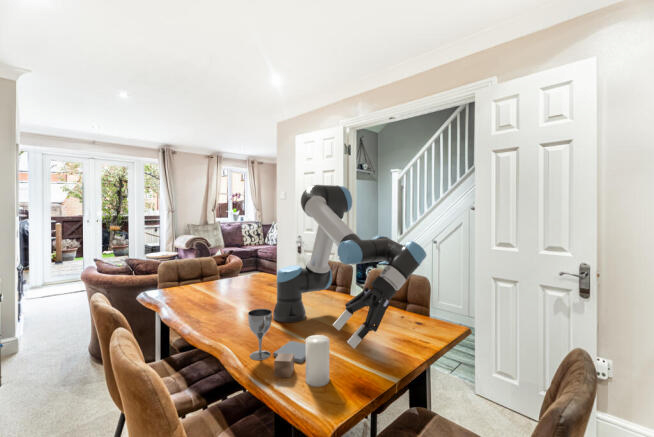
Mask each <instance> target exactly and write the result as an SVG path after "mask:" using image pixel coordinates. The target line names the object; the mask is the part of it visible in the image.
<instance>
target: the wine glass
mask: <svg viewBox="0 0 654 437" xmlns="http://www.w3.org/2000/svg"><path fill="white" fill-rule="evenodd" d="M247 314H248V315H247V319H248V325H249V329H250V331H251V332H252V333H253V334H254V335H255V336H256V338H257V340H258V350H256V351H253V352H252V353H250V354H249V358H250V360H254V361H264V360H267V359H268V358H270V357H271V354H272V353H271V352H270V351H269V350H265V349H264V350H263V349H262V345H263V344H262V343H263V338H264V336H266V334H267V332H269V330H270V328H271V325H272V321H273V320H272V319H273V318H272V317H273V316H272V315H273V312H272V310H271V309H269V308H255V309H252V310H250V311H248V313H247Z"/></svg>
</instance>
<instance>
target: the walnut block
mask: <svg viewBox="0 0 654 437" xmlns="http://www.w3.org/2000/svg"><path fill="white" fill-rule="evenodd" d="M273 362H274V363H273V364H274V367H273V375H274V376H273V377H274V378H285V377H288V378H289V379H290V378H291V377H292V375H293V373H294V371H295V361H294V354H287V353H278V355H277V357H275V359H274V361H273Z"/></svg>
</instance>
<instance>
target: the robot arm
mask: <svg viewBox="0 0 654 437" xmlns="http://www.w3.org/2000/svg"><path fill="white" fill-rule="evenodd" d="M300 205H301V209H302V211H303V212H304V213H305V214H306V216H308V217H310V218H312V219H313V220H314V221H315V222H316V223H317V224H318V226H317V230H316V235H315V238H314V244H313V247H312V252H311V255H310V259H309V260H307V262H306V263H305V267H302V266H301V265H287V266H284V267H281V268H280V269H278V271H277V274H276V303H275V306H274V310H273V312H272V315H273V316H272V317H273V318H272V319H274V320H275V321H276V322H281V323H294V322H295V323H296V322H300V321H303V320H304V319H305V318H306V315H307V314H306V308H305V306H304V302H303V298H302V297H303V294H306V293H312V292H321V291H323V290H327V289H329V287H330V286H331V285H332V282H333V271H332V269H331V266H330V264H329V261H330V257H331V253H332V248H333V245H334V244H335V245H336V246H337V257H339V258H338V259H339V261H340V263H342V264H344V265H358V264H360V265H361V264H366V263H375V262H376V263H377V262H386V263H388V264H387V265H386V266H384V267H383V270H382V271H381V272H380V273H379V275H377V276H376V277H375V279H374V280H373V281H372V282H371V287H372V288H371V289H370V288H369V287H365V288H364V289H363V290H362V291H361V292H359V293H358V294H357V295H356V296H354V297H353V298H351V299H350V300H349V301H347V302H346V303H345V305H344V306H345V310H344V311H343V312H342V313H341V314H340V316H339V317H338V318H337V319H336V320H335V321H334V323H332V326H333V327H334V328H335V329H336V330H337V331H340V330H341V329H342V328H343V326H345V324H346V323H347V322H348V321H349V320H350V318H352V316H353V315H354V313H355V312H357V311H360V310H361V309H363V308H366V307H369V308H368V311H367V315H366V318H365V321H363V322H362V323H361V324H360V325H359V327H358V328H357V329H356V330H355V331H354V333H353V334H352V335H351V337H349V339H348V340H346V342H347V344H348V345H349V346H350V347H351V348H353V349H354V350H355V349H356V347H357V346H358V345H359V344H360V342H362V340H363V339H364V338H366V336H367V335H368V333H370V332H372V331H373V333H375V332H378V328H379V326H380V325H381V323H382V321H383V318H384V316H385V313H386V312H387V309H388V308H389V307H390V305H391V302H389V301H390V300H392V298H393V297H394V296H395V295H396V294H397V291H399V290H400V289H401V288H402V287H403V285H404V284H405V283H406V281H408V279H409V278H410V277H411V275H412V274H414V272H415V271H416V270H417V269H418V268H419V267H420V266H421V264H422V263H423V261H424V260H425V259H426V256H427V253H426V250H425V249H424V248H423V247H422V246H421V245H420V244H419V243H417V242H415V241H414V240H408V241H407V242H406V243H404V244H400V243H399V242H396V241H395V240H392V239H391V238H389V237H388V236H384V235H381V234H380V235H379V234H377V235H375V236H373V237H372V238H371V239H361V238H360V236H358V235H357V234H356V233H355V231H353V230H352V228H350V227H349V226H348V225H347V224H346V223H345V221H343V218H344V215H345V213H349V212H350V211H351V209H352V206H353V197H352V194H351V192H350V190H349V188H347V187H345V186H342V185H340V186H339V185H325V184H314V185H311V186H308V187H307V188H305V190H304V191H303V193H302V194H301V197H300Z"/></svg>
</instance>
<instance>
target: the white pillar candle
mask: <svg viewBox="0 0 654 437" xmlns="http://www.w3.org/2000/svg"><path fill="white" fill-rule="evenodd" d="M305 344H306V359H305V383H306V384H307V385H309V386H311V387H314V388H315V387H317V388H320V387H324V386H326V385H327V384H329V382H330V338H329V337H328V336H326V335H322V334H313V335H309V336H307V337H306V338H305Z"/></svg>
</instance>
